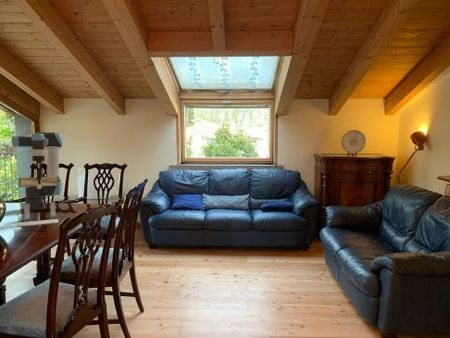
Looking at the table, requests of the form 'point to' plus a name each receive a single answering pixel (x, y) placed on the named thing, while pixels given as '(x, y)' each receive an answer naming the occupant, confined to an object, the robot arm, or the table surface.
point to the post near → (27, 212)
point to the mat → (37, 222)
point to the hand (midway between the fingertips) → (39, 188)
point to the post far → (52, 211)
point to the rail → (33, 182)
